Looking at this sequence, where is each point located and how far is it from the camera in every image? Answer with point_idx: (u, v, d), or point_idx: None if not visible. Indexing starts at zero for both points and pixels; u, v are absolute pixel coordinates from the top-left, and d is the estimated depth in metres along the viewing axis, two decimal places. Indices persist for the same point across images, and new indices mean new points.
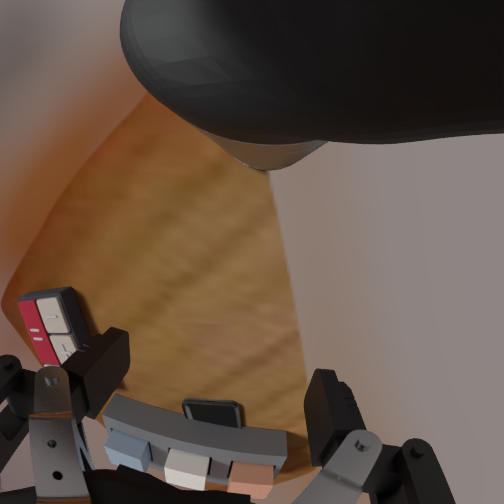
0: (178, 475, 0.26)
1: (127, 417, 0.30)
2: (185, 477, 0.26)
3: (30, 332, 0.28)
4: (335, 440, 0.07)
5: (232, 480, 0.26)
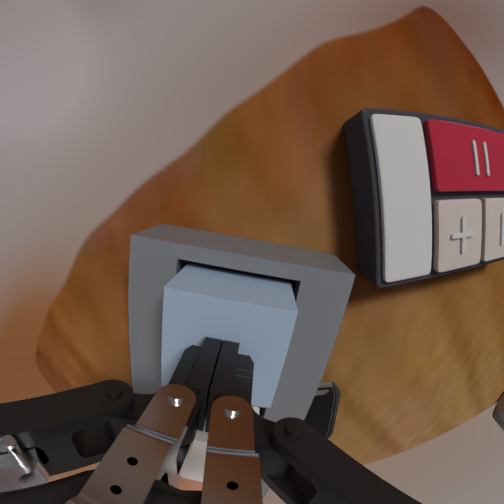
0: None
1: None
2: None
3: (478, 136, 0.13)
4: None
5: None
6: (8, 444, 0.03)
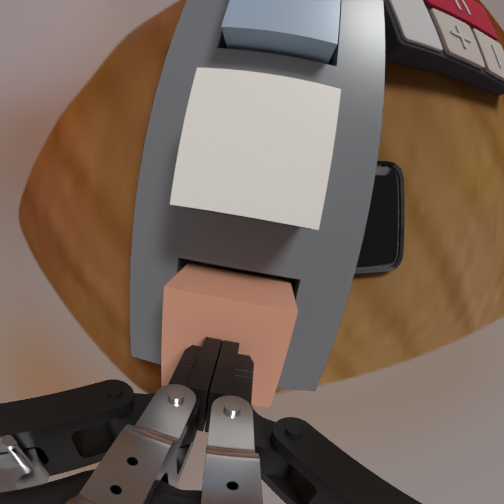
0: (297, 125, 0.09)
1: None
2: (282, 148, 0.09)
3: None
4: None
5: None
6: (8, 444, 0.03)
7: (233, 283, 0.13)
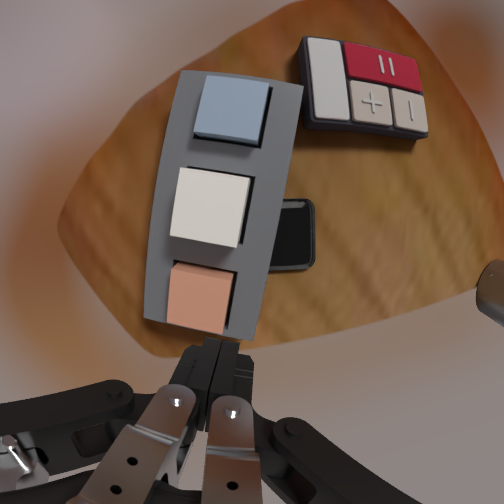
0: (226, 199, 0.21)
1: None
2: (219, 210, 0.21)
3: (385, 54, 0.22)
4: None
5: (231, 281, 0.25)
6: (8, 444, 0.03)
7: (204, 268, 0.26)
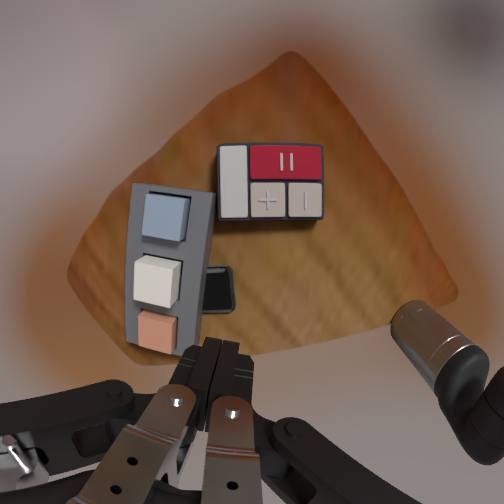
0: (161, 281, 0.35)
1: (210, 218, 0.38)
2: (158, 287, 0.35)
3: (288, 150, 0.36)
4: None
5: (172, 324, 0.38)
6: (8, 444, 0.03)
7: (158, 314, 0.40)
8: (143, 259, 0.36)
